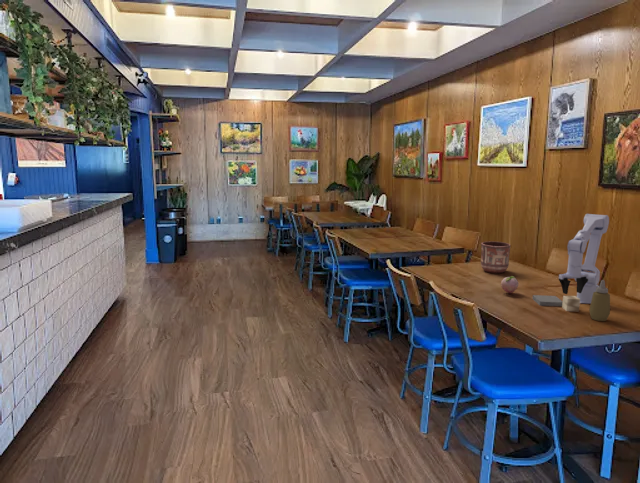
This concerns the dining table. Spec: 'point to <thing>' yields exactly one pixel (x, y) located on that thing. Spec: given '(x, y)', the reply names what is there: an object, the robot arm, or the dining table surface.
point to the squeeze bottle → (600, 303)
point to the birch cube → (571, 303)
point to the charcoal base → (547, 300)
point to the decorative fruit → (509, 284)
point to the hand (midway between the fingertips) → (572, 293)
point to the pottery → (495, 256)
